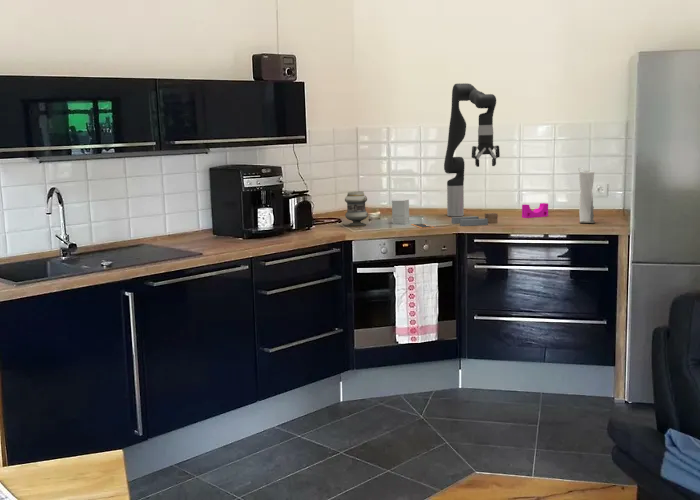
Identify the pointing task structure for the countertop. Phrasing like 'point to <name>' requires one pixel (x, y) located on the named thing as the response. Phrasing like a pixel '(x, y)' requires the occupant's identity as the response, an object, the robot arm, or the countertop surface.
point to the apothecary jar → (356, 208)
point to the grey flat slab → (469, 221)
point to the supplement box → (400, 211)
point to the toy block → (535, 211)
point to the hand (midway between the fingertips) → (485, 166)
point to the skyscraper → (586, 196)
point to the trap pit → (422, 226)
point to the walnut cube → (491, 217)
